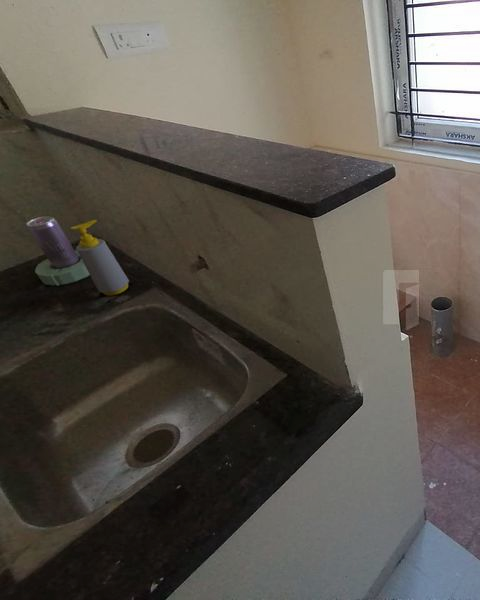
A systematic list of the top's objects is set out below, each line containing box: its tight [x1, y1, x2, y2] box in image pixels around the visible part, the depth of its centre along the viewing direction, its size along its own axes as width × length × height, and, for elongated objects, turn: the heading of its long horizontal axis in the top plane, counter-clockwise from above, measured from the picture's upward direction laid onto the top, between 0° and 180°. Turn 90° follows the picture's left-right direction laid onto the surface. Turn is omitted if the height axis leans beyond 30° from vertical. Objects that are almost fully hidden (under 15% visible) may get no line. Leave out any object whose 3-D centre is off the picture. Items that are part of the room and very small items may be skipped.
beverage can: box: [25, 215, 80, 269], centre depth 101 cm, size 6×6×15 cm
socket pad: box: [34, 249, 90, 287], centre depth 105 cm, size 13×13×3 cm
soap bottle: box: [70, 219, 130, 296], centre depth 93 cm, size 7×7×18 cm
